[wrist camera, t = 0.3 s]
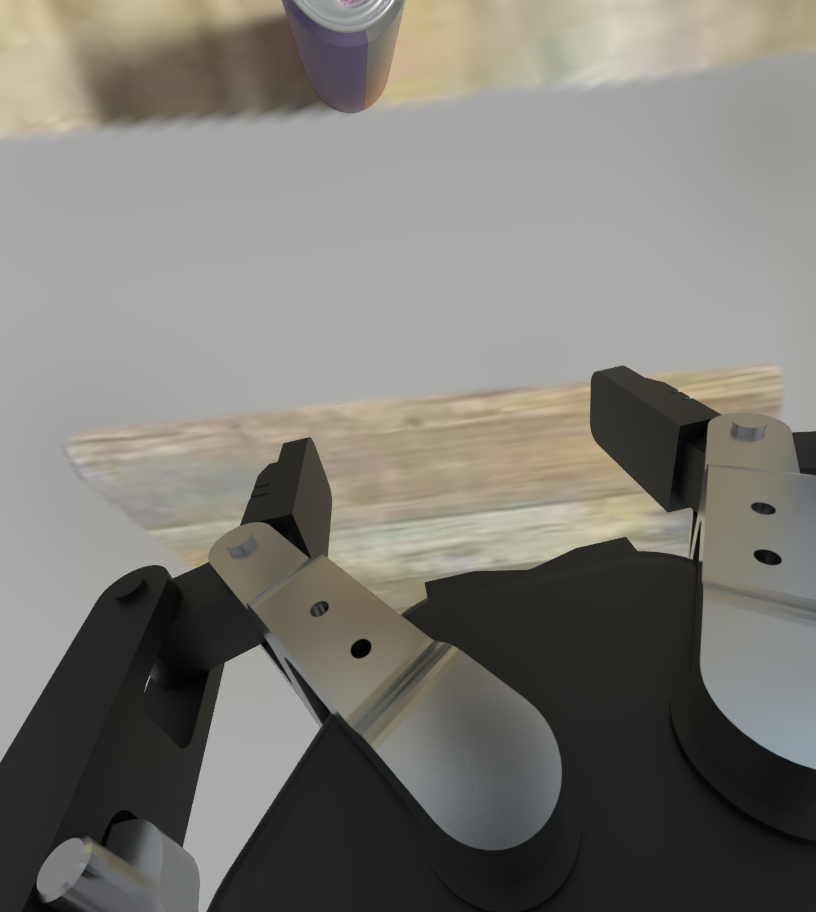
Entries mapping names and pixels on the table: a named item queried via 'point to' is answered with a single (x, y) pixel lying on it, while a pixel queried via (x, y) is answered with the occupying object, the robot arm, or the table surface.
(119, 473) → the table surface
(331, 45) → the beverage can
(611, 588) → the robot arm
